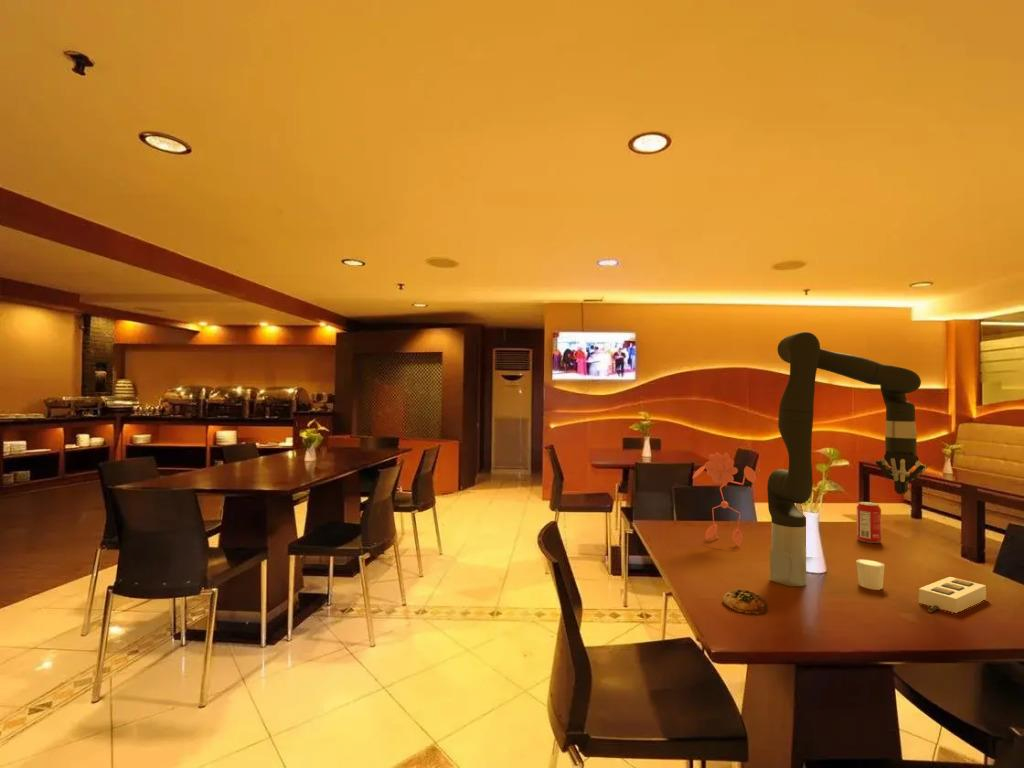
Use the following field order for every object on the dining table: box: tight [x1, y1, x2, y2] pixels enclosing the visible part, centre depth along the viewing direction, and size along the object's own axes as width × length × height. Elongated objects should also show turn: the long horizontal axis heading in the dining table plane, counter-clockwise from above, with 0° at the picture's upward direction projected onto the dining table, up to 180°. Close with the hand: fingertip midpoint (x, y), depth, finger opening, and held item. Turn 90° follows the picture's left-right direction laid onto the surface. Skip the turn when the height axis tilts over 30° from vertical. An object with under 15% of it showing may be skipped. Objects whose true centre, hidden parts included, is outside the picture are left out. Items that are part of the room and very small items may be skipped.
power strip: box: [918, 576, 987, 613], centre depth 137 cm, size 24×8×4 cm, turn 120°
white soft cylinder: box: [855, 558, 886, 591], centre depth 149 cm, size 7×7×7 cm
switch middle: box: [942, 583, 964, 591], centre depth 138 cm, size 4×4×2 cm
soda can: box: [856, 501, 882, 544], centre depth 199 cm, size 8×8×15 cm
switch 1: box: [931, 587, 954, 595], centre depth 135 cm, size 4×4×2 cm
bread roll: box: [722, 589, 769, 614], centre depth 133 cm, size 11×11×5 cm
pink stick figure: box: [691, 451, 757, 547], centre depth 191 cm, size 15×26×35 cm, turn 40°
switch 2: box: [952, 578, 973, 587], centre depth 141 cm, size 4×4×2 cm
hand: (901, 493), depth 151 cm, fingers closed
